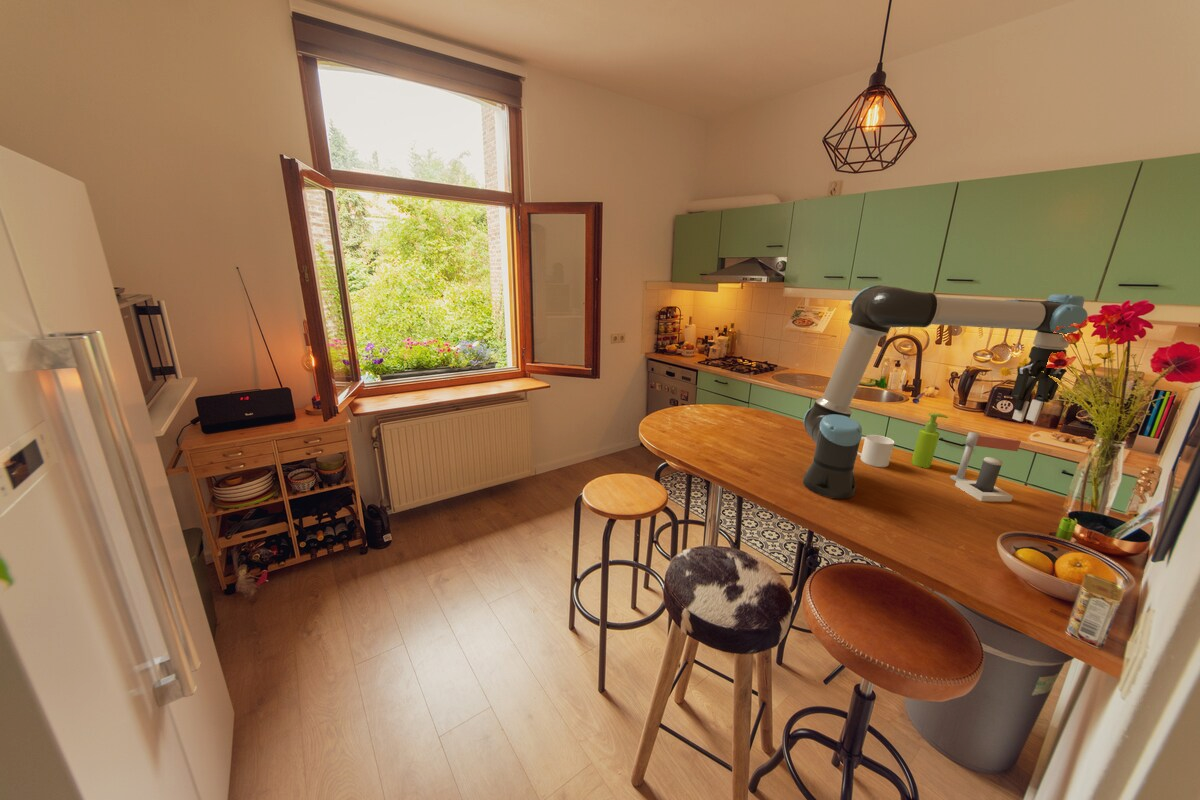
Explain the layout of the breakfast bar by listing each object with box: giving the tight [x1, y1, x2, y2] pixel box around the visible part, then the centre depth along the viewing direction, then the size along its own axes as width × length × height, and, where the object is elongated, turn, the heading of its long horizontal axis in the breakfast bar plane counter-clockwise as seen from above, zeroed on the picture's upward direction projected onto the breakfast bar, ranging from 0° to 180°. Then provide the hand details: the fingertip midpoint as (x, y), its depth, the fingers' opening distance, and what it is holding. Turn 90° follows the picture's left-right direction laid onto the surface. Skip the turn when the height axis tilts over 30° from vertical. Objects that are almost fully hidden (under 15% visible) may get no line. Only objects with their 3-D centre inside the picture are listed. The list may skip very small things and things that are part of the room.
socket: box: [950, 444, 1014, 503], centre depth 141 cm, size 10×16×13 cm, turn 2°
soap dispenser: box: [910, 412, 949, 469], centre depth 157 cm, size 6×7×20 cm
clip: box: [964, 431, 1022, 452], centre depth 142 cm, size 3×14×4 cm, turn 70°
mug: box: [857, 434, 895, 468], centre depth 161 cm, size 12×9×9 cm
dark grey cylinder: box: [975, 456, 1003, 492], centre depth 138 cm, size 4×4×12 cm
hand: (1024, 420), depth 136 cm, fingers open, 4 cm apart
